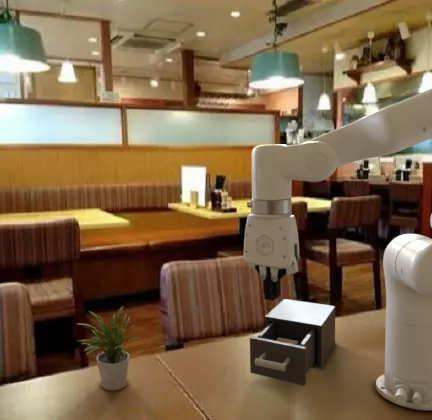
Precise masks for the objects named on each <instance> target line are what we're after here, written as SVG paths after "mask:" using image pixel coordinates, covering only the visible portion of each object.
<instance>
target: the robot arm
mask: <svg viewBox="0 0 432 420" xmlns="http://www.w3.org/2000/svg"><path fill="white" fill-rule="evenodd" d="M429 140H432V88H429V89H427V90H425V91H422V92H420V93H418V94H415V95H412V96H410V97H408V98H405V99H403V100H401V101H398V102H396V103H393V104H391V105H388V106H386V107H382V108H381V109H378V110H376V111H374V112H371V113H369V114H367V115H365V116H363V117H360V118H359V119H357V120H354V121H353V122H351V123H348V124H346V125H343V126H341V127H337V128H336V129H334V130H332V131H329V132H327V133H326V132H325V133H323V134H321V135H319V136H317V137H314V138H312V139H309V140H306V141H304V142H302V143H298V144H289V145H287V144H281V143H280V144H279V143H275V144H259V145H257V146H255V147H253V148H252V150H251V159H250V160H251V200H248V201H247V202H246V208H249V209H250V210H251V213H249V214H248V215H247V218H246V223H245V229H244V239H243V258H244V261H245V262H246V265H247V267H249V268H251V269H254V270H256V272H257V273H258V275H260V279H261V280H262V291H263V292H262V293H263V294H264V295H263V296H264V300H266V301H268V300H269V301H271V302H272V301H275V300H277V299H279V298H280V296H281V292H282V291H281V286H282V284H281V282H282V281H281V280H282V279H283V278H284V277H285V276H286V275H293V274H297V273H299V265H298V263H299V260H300V242H299V231H298V225H297V221H296V217H295V215H294V214H292V195H293V194H292V191H293V190H292V187H293V186H292V183H293V182H292V181H300V182H309V183H319V182H322V181H325V180H327V179H328V178H330V177H331V176H332V175H334V173H335V172H336V170H337V168H340V167H343V166H345V165H348V164H351V163H355V162H359V161H362V160H367V159H373V158H379V157H385V156H389V155H392V154H396V153H398V152H401V151H403V150H406V149H409V148H412V147H413V146H416V145H418V144H421V143H424V142H426V141H429ZM429 218H430V219H429V222H430V224H429V225H430V227H431V228H432V213H431V215H430V217H429ZM382 266H383V277H384V283H385V284H384V285H385V337H384V338H385V341H384V345H385V346H384V374H382V375H379V376H378V377H377V378H376V380H375V389H376V391H377V392H378V394H379V395H381V396H382V397H383V398H384V399H386V400H387V401H389V402H391V403H393V404H395V405H398V406H401V407H403V408H404V407H405V408H407V409H412V410H417V411H427V412H428V411H432V238H430V237H428V236H427V235H426V236H425V235H423V234H419V233H418V234H417V233H405V234H401V235H398V236H396V237H394V238H393V239H392V240H391V241H390V242H389V243H388V244H387V245H386V248H385V249H384V252H383V258H382Z"/></svg>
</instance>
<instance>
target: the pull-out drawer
mask: <svg viewBox="0 0 432 420" xmlns="http://www.w3.org/2000/svg"><path fill="white" fill-rule="evenodd" d="M278 338H283V339H289V340H294V341H298V345H294V344H289V343H284V342H279V341H276V340H277V339H278ZM316 358H317V329H314V328H308V327H303V326H297V325H291V324H285V323H279V322H273V321H272V322H271V323H270V324H269V325H268V326H267V327H266V328H265V327H264V329H263V330H262V331H261V332H260V333H258V335H257V336H253V335H252V336H250V337H249V368H250V369H249V370H250V374H252V375H253V374H254V375H258V376H261V377H266V378H270V379H274V380H278V381H282V382H287V383H290V384H295V385H299V386H303V387H305V386H306V385H307V374H308V372H309V371H310V369H311V368H312V367H313V366H312V365H313V363H314V361H315V360H316Z"/></svg>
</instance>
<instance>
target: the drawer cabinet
mask: <svg viewBox="0 0 432 420" xmlns="http://www.w3.org/2000/svg"><path fill="white" fill-rule="evenodd" d="M272 321H273V322H279V323H285V324H291V325H297V326H303V327H308V328H314V329H317V358H316V360H315V361H314V363H313V365H312V366H311V367H315V368H320V369H322V367H323V366H324V364H325V362H326V361H327V359H328V357H329V355H330V353H331V352H332V350H333V348H334V347H335V345H336V306H335V305H330V304H322V303H316V302H309V301H302V300H293V299H287V298H283V300H282V301H280V302H279V303H278V304H277V305H276V306H275V307H274V308H272V310H270V312H268V313H267V314H266V315H265V316H264V329H265V328H266V327H267V326H268V325H269V324H270V323H271V322H272Z"/></svg>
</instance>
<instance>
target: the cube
mask: <svg viewBox="0 0 432 420" xmlns="http://www.w3.org/2000/svg"><path fill="white" fill-rule="evenodd" d="M276 341H279V342H284V343H289V344H294V345H298V341H294V340H289V339H283V338H278V339H277V340H276Z"/></svg>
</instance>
